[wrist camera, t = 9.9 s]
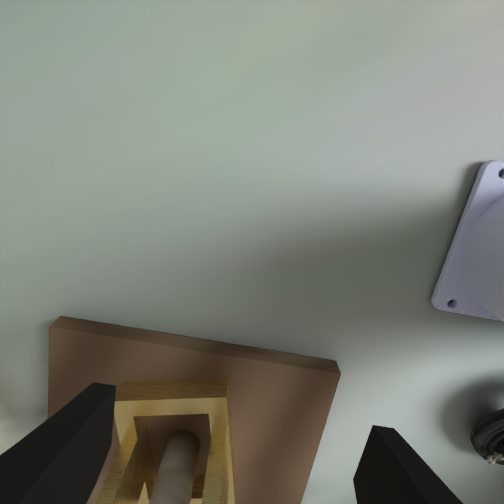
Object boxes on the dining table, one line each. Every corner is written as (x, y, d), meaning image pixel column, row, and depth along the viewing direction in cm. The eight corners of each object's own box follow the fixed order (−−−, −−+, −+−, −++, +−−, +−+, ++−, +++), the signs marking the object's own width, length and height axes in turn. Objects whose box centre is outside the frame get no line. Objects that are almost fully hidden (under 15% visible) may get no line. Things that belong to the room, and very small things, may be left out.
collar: (228, 378, 19) (219, 465, 14) (236, 486, 22) (231, 594, 16) (121, 382, 19) (73, 470, 14) (141, 488, 22) (106, 598, 17)
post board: (336, 361, 20) (368, 445, 15) (288, 518, 24) (299, 633, 18) (61, 316, 20) (-19, 387, 14) (57, 486, 23) (-7, 597, 18)
